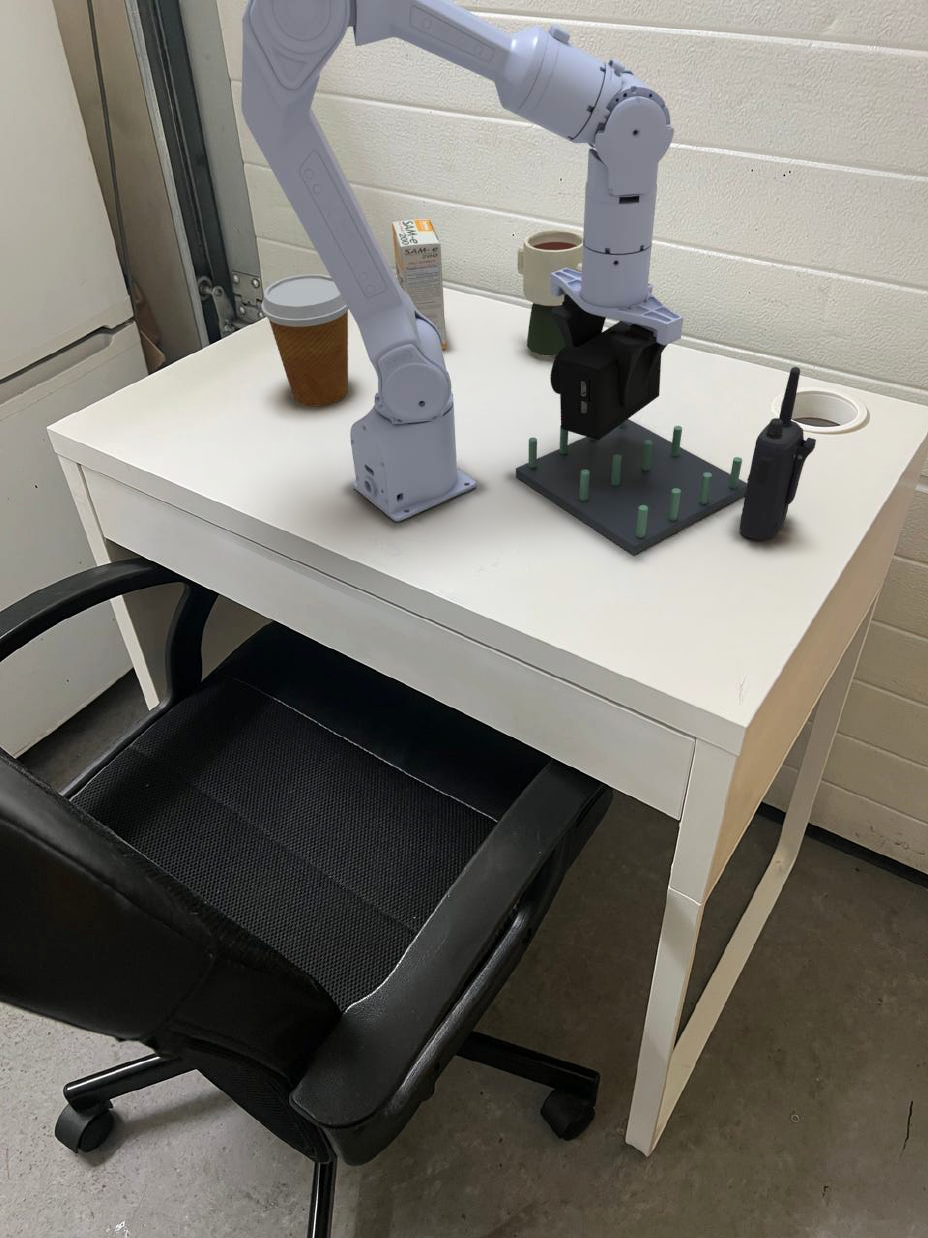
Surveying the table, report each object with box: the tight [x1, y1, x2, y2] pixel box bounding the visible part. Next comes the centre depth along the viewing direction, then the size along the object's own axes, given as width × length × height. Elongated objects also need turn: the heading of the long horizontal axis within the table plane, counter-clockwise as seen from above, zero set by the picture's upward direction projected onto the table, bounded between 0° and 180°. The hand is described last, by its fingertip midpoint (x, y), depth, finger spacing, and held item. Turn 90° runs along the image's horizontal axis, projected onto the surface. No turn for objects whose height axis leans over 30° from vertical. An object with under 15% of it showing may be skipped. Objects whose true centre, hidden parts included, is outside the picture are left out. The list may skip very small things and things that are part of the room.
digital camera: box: [549, 320, 662, 440], centre depth 86 cm, size 10×5×7 cm, turn 140°
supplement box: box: [391, 218, 447, 350], centre depth 112 cm, size 8×5×13 cm, turn 10°
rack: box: [515, 418, 748, 556], centre depth 89 cm, size 15×16×4 cm
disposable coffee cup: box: [260, 273, 349, 407], centre depth 102 cm, size 10×10×12 cm
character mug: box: [517, 228, 583, 356], centre depth 108 cm, size 11×7×13 cm, turn 46°
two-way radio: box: [739, 366, 817, 540], centre depth 79 cm, size 6×4×15 cm
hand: (607, 390), depth 87 cm, fingers closed on digital camera, 5 cm apart
